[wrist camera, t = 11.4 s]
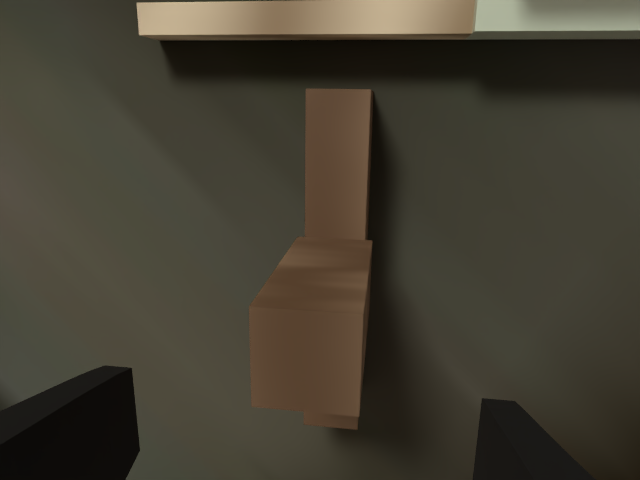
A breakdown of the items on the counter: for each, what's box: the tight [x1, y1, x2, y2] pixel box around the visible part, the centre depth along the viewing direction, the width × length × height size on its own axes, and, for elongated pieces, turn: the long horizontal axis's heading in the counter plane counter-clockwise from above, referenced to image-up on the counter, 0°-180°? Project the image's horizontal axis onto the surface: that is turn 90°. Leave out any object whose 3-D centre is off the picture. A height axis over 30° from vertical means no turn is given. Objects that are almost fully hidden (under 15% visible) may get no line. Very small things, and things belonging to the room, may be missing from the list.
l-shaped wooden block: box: [249, 89, 374, 430], centre depth 15 cm, size 2×12×9 cm, turn 179°
